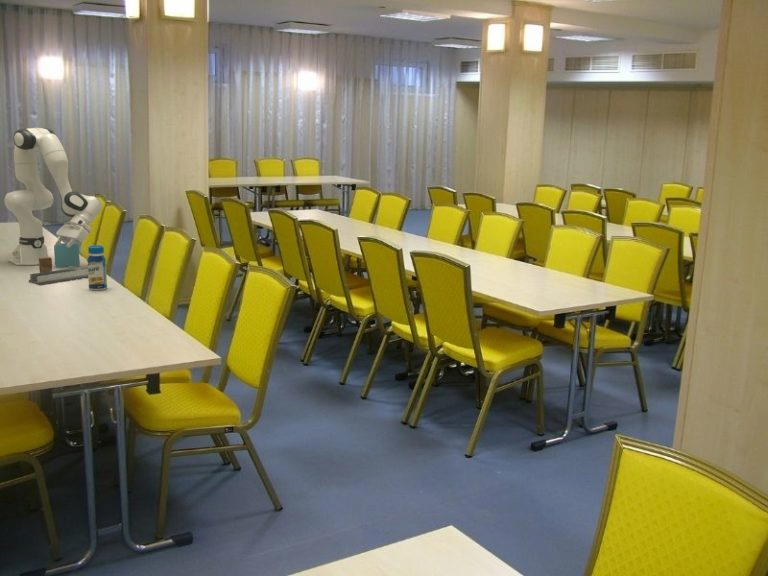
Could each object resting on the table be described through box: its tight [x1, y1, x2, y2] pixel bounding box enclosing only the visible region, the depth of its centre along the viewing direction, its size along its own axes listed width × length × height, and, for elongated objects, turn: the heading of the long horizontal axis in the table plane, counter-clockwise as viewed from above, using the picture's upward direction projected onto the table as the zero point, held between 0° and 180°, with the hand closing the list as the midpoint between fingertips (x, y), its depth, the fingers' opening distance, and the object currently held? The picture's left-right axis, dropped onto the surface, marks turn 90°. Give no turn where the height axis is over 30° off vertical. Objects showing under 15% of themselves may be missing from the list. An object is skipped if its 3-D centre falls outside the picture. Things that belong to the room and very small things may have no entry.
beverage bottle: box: [86, 244, 108, 291], centre depth 384 cm, size 8×8×20 cm
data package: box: [53, 242, 81, 268], centre depth 435 cm, size 12×4×12 cm, turn 113°
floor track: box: [28, 266, 88, 286], centre depth 403 cm, size 11×26×4 cm, turn 140°
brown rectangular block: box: [38, 256, 53, 273], centre depth 410 cm, size 3×5×9 cm, turn 141°
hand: (62, 245), depth 415 cm, fingers open, 8 cm apart
